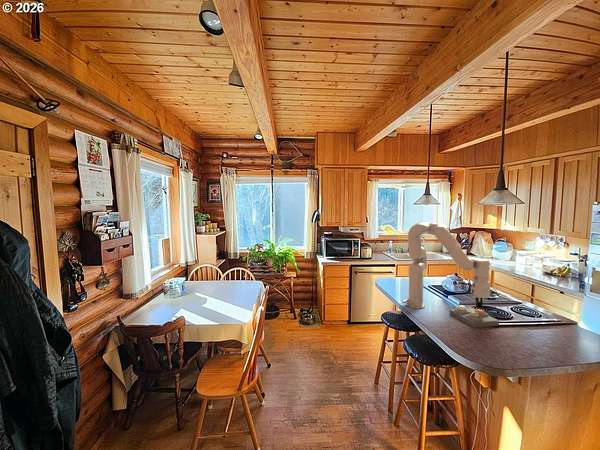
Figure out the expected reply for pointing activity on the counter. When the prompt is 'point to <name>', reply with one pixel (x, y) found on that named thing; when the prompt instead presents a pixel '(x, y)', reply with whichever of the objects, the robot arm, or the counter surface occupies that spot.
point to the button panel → (481, 321)
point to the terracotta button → (480, 311)
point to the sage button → (474, 314)
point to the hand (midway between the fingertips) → (479, 307)
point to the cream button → (461, 308)
